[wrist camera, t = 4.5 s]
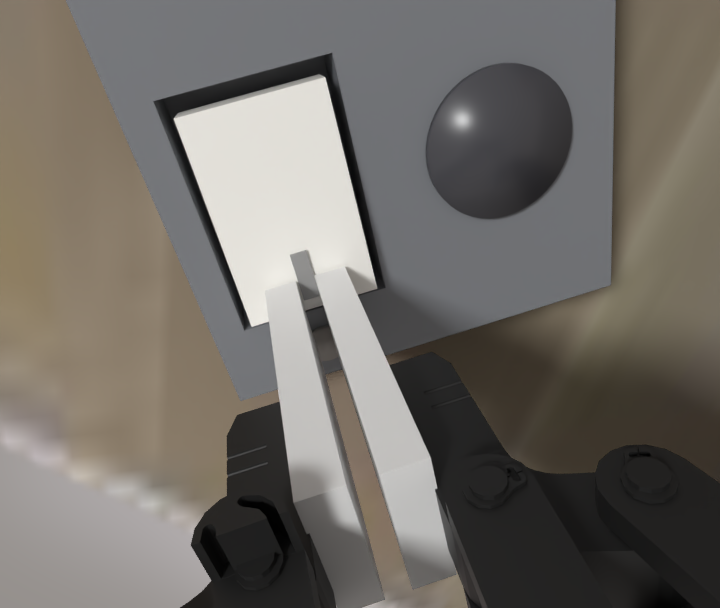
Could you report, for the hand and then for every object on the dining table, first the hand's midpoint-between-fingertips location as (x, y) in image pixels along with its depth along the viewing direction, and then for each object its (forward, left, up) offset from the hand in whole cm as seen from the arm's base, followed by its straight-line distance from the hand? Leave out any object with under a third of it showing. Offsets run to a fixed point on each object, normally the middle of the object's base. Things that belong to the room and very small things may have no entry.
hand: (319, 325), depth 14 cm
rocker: (+3, 0, -1) cm, 3 cm away
